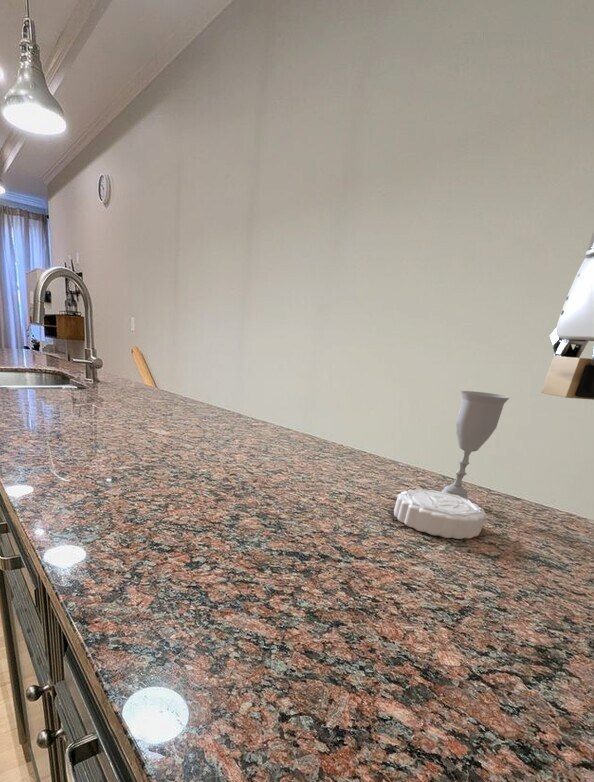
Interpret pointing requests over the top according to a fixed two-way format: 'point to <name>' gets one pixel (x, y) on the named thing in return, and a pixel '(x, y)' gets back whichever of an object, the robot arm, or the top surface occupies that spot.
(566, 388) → the block
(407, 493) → the mooncake
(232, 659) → the top surface
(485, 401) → the chalice
